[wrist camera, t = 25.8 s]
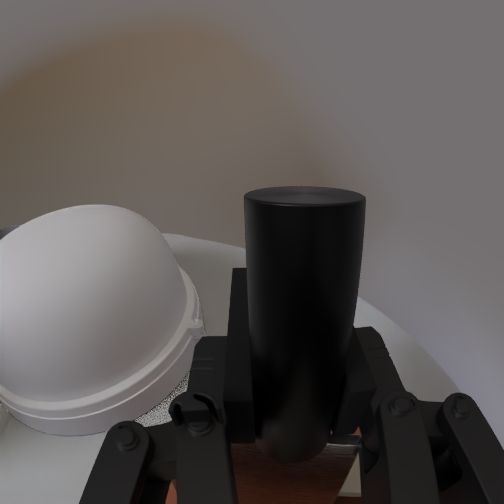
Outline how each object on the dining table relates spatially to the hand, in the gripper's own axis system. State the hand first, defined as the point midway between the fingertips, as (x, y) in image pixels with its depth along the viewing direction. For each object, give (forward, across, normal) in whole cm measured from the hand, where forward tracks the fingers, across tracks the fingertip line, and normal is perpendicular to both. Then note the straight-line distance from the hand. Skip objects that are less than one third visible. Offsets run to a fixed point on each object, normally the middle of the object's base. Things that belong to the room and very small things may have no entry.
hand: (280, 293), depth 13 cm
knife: (-7, 0, -12) cm, 14 cm away
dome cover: (+13, -22, -15) cm, 29 cm away
